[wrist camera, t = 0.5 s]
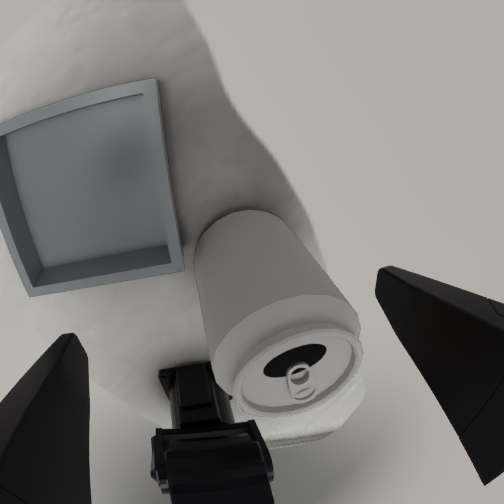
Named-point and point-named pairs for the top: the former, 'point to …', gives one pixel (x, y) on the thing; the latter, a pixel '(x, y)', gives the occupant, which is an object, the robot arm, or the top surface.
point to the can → (272, 317)
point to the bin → (89, 191)
